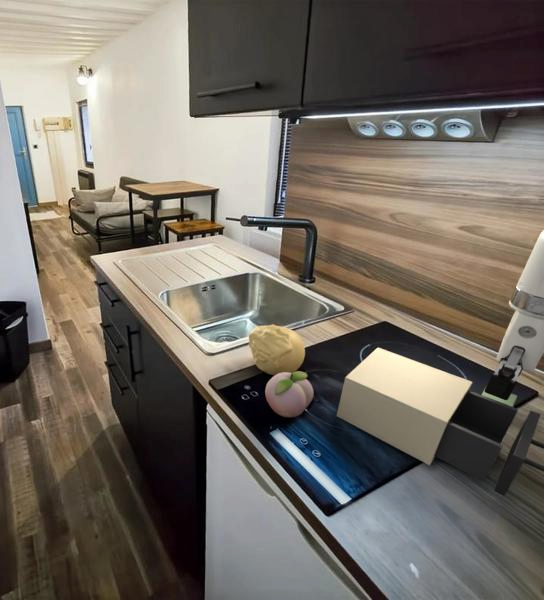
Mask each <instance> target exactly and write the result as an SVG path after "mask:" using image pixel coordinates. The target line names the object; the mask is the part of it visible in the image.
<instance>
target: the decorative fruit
mask: <svg viewBox="0 0 544 600" xmlns="http://www.w3.org/2000/svg"><path fill="white" fill-rule="evenodd" d="M308 377H309V376H308V373H306V372H304V371H300V370H296V371H295V372H293V373H288V372H284V373H279V374H277V375H275V376H274V375H273V376H272V377H271V378H270V379H269V380H268V382H267V383H266V386H265V390H264V393H265V399H266V401H267V404H268V405H269V407H270V408H271V410H272V411H273V412H274V413H276V414H277V415H279V416H281V417H283V418H296V417H298V416H300V415H302V414H303V412H304V411H305V409H307V408H308V407H309V406H310V404H311V402H312V400H313V398H314V388H313V386H312V384H311V382H310V381H309V380H308V379H307V378H308Z"/></svg>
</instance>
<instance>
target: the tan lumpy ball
mask: <svg viewBox="0 0 544 600" xmlns="http://www.w3.org/2000/svg"><path fill="white" fill-rule="evenodd" d="M248 347H249V348H250V351H251V354H252V355H251V356H252V358H253V363H254V365H255V366H256V367H257V368H258V369H259V370H260V371H262V372H264V373H266V374H268V375H270V376H273V377H274V376H275V375H277V374H279V373H284V372H288V373H293V372H296V371H298V369H299V368H300V367H301V366H302V364H303V363H304V360H305V356H306V349H305V348H306V347H305V344H304V341H303V340H302V338H301V337H300V336H299V334H298V333H297V332H296V331H294V330H293V329H291V328H289V327H287V326H286V327H285V326H281V325H275V324H273V323H272V324H270V325H258V326H256V327H254V328H253V329H252V331H251V332H250V333H249V334H248Z"/></svg>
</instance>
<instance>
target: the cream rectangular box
mask: <svg viewBox="0 0 544 600" xmlns="http://www.w3.org/2000/svg"><path fill="white" fill-rule="evenodd" d="M343 381H344V382H343V386H342V390H341V395H340V399H339V402H338V408H337V412H336V417H338V418H339V419H341V420H343V421H345V422H347V423H349V424H351V425H353V426H355V427H356V428H358V429H360V430H362V431H364V432H366V433H367V434H369V435H371V436H373V437H375V438H377V439H379V440H381V441H382V442H385V443H386V444H389V445H390V446H392V447H393V448H396V449H398V450H399V451H402V452H404V453H406V454H407V455H409V456H411V457H413V458H414V459H417V460H418V461H421V462H422V463H425V465H428V466H431V464H432V463H433V461H434V459H435V458H436V457H435V456H434V455H435V453H436V450H437V448H438V446H439V443H440V441H441V438H442V436H443V433H444V431H445V429H446V426H447V424H448V422H449V421H450V419H451V417H452V416H453V414H454V412H455V411H456V409H457V408H458V406H459V404H460V403H461V401H462V400H463V398H464V396H465V395H466V393H467V392H468V390H469V391H471V387H472V385H473V381H472V380H469V379H465V378H463V377H460V376H457V375H455V374H452V373H449V372H446V371H443V370H441V369H438V368H435V367H433V366H430V365H428V364H425V363H423V362H422V363H421V362H419V361H416V360H414V359H410V358H408V357H405V356H403V355H400V354H397V353H394V352H392V351H388V350H387V349H383V348H381V347H377V348H375V349H374V350H373V351H372V352H371V353H370V354H369V355H368V356H367V357H366V358H365V359H363V360H362V361H361V362H360V363H359V364H358V365H356V367H355V368H354V369H352V371H350V373H348V374H347V375H346V376H345V377H344V380H343Z"/></svg>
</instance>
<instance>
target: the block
mask: <svg viewBox="0 0 544 600" xmlns="http://www.w3.org/2000/svg"><path fill="white" fill-rule="evenodd" d="M481 395H482V396H485V397H488V398H490V399H493V400H496V401H498V402H501V403H503V404H506V405H509V406H511V407H514V405H515V403H516V400H517V398H518V395H517V394H513V393H511V395H510V397H509V399H508V400H503V399H501V398H498V397H495V396H493V395H490V394H488V393H486V392H485V389H484V390H483V391H482V393H481Z"/></svg>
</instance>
